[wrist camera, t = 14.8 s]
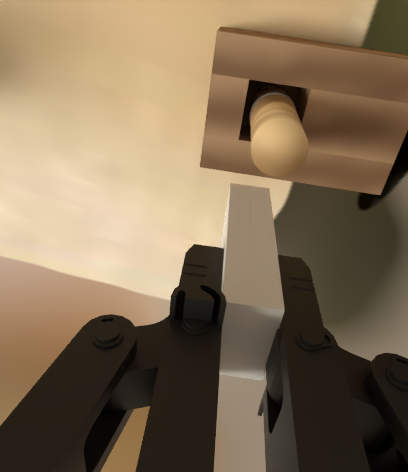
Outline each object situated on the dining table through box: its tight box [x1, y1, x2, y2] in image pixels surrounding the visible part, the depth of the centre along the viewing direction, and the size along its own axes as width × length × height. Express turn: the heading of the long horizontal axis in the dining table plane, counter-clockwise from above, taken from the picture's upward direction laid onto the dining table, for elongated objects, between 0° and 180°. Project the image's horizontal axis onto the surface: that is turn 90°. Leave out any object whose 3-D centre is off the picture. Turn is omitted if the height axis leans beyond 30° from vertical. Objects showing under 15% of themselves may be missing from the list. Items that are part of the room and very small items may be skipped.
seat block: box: [200, 27, 408, 195], centre depth 36 cm, size 12×18×5 cm, turn 83°
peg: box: [250, 86, 309, 176], centre depth 32 cm, size 4×4×14 cm
